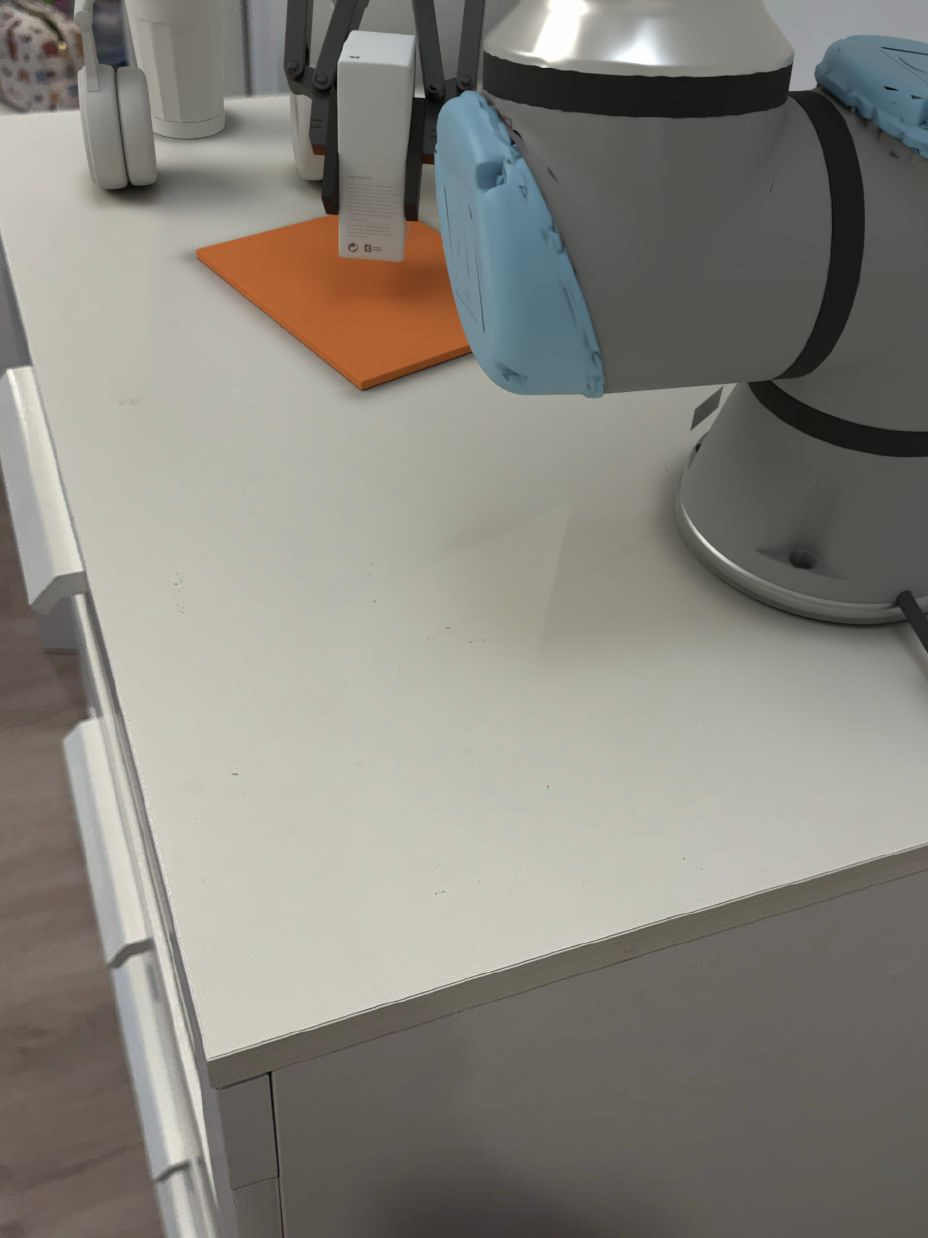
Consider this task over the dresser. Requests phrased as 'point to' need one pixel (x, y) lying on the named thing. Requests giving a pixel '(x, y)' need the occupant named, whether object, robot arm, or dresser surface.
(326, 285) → the orange rectangular board
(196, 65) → the cup
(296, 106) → the headphones
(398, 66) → the cosmetic box
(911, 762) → the dresser surface
